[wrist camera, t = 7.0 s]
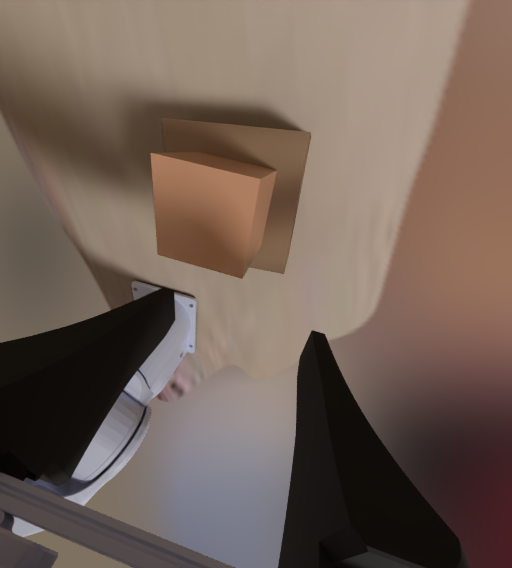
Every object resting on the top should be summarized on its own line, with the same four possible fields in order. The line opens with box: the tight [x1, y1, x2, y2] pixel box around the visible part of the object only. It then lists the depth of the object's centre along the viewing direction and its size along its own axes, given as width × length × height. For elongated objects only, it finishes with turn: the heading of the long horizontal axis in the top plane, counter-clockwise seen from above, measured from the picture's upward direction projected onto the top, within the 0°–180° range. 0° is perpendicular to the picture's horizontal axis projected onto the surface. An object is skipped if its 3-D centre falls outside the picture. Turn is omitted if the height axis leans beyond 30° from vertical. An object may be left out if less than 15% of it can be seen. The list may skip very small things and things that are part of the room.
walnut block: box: [161, 117, 311, 274], centre depth 17 cm, size 9×9×4 cm
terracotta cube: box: [151, 152, 277, 279], centre depth 13 cm, size 5×5×5 cm
